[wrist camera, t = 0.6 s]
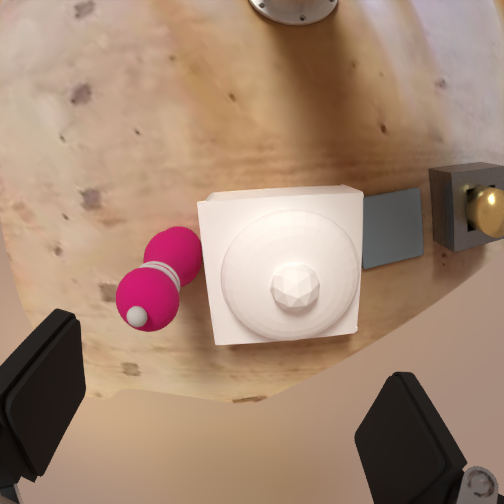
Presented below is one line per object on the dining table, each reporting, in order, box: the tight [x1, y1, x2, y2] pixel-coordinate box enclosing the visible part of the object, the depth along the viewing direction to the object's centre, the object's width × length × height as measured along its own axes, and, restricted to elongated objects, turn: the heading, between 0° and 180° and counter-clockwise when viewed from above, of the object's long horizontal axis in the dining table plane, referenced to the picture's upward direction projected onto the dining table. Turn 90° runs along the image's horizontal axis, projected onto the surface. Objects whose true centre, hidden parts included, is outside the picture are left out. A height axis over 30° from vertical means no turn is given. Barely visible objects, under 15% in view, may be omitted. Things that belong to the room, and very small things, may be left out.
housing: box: [429, 162, 504, 252], centre depth 39 cm, size 11×11×6 cm
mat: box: [361, 188, 424, 269], centre depth 43 cm, size 10×10×1 cm
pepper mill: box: [116, 227, 202, 332], centre depth 34 cm, size 7×7×20 cm
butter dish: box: [197, 184, 364, 345], centre depth 37 cm, size 18×18×16 cm
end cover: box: [466, 185, 504, 238], centre depth 37 cm, size 6×6×9 cm
